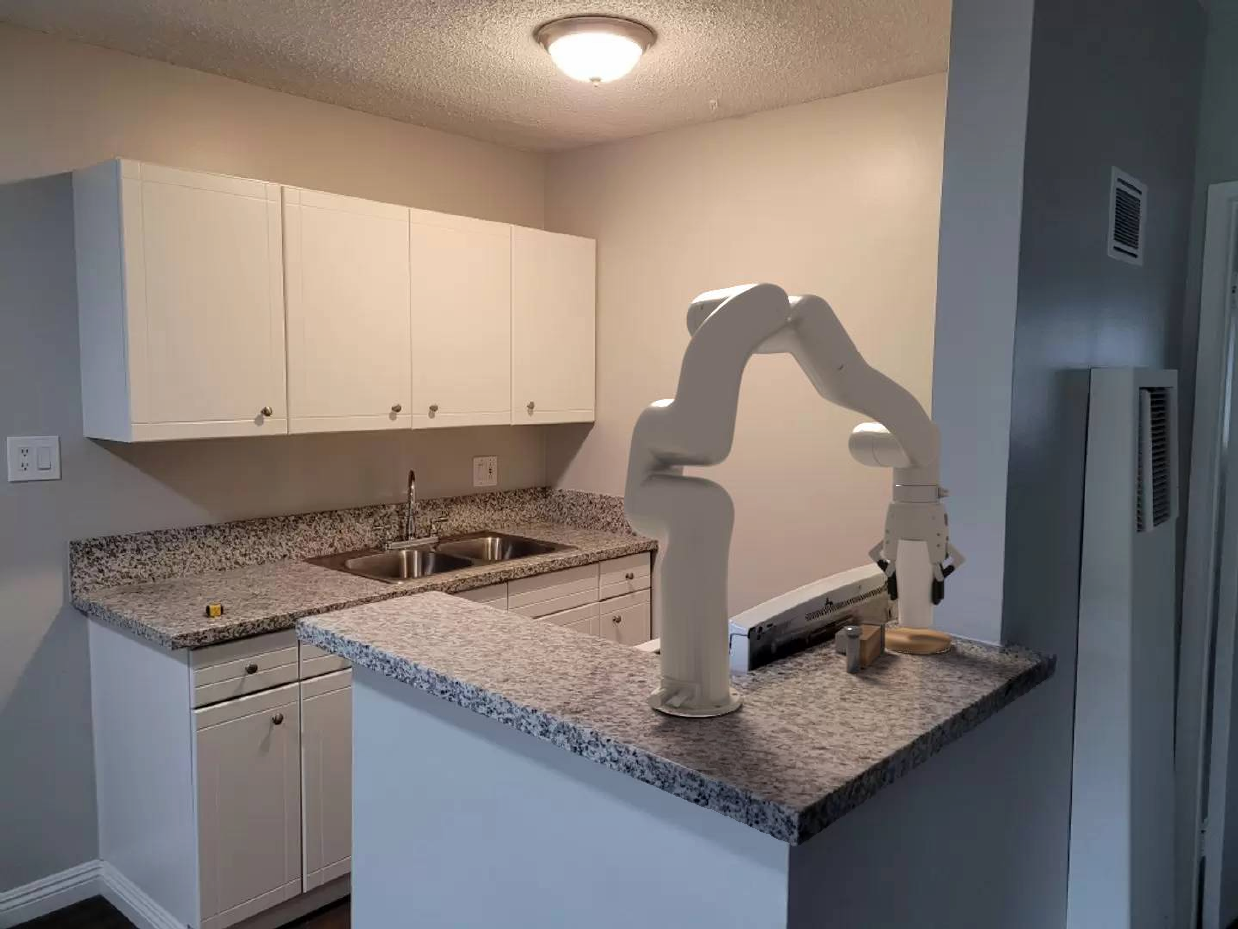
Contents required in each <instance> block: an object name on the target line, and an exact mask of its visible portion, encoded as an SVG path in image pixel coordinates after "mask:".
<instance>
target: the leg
mask: <svg viewBox="0 0 1238 929" xmlns="http://www.w3.org/2000/svg"><path fill="white" fill-rule="evenodd" d="M859 627H862V628H863V634H862V635H860V668H864V669H867V668H868V667H869V666H870V665H871V664H872V663H873V662H874V660H876V659H877V658H878V656H879V655H881V653H884V652H885V651H886V647H885V631H886V622H885V621H876V620H868V619H867V620H866V619H864V620H863V621H862V622H861V623H860V626H859Z"/></svg>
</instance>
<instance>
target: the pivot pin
mask: <svg viewBox="0 0 1238 929" xmlns="http://www.w3.org/2000/svg"><path fill="white" fill-rule="evenodd" d="M843 629H844V634H846V653H845V654H846V660H845V661H846V673H848V674H860V673H861V667H860V635H862V634H863V628H862V627H860V626H859V625H846V626H844V627H843Z"/></svg>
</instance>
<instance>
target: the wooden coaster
mask: <svg viewBox="0 0 1238 929" xmlns="http://www.w3.org/2000/svg"><path fill="white" fill-rule="evenodd" d="M950 647H951V648H952V638H951V636H950V635H948V634H947V633H944V632H942V631H940V630H936V629H930V628H927V629H908V628H905V627H900V628H899V627H898V628H891V629H887V630H885V649H886V648H887V649H889V650H891V651H894V650H896V651H895V652H898V651H901V652H900V653H903V652H906V653H905V654H909V653H916V654H915V655H928V654H927V653H937V652H942V651H945V650H948V649H950ZM950 650H951V649H950ZM907 652H908V653H907ZM917 653H918V654H917ZM921 653H922V654H921ZM924 653H926V654H924Z"/></svg>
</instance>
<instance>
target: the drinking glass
mask: <svg viewBox="0 0 1238 929" xmlns="http://www.w3.org/2000/svg"><path fill="white" fill-rule="evenodd" d="M895 571H896V582H897V595H898V598H897V607H898V624H899V625H900V626H901V628H908V629H930V628H931V627H932V625H933V613H934V612H933V609H934V604H933V581H935V575H934V572H933V564H931V563H930V561H929V553H928V547H927V542H926V541H909V540H901V539H899V542H898V549H897V559H896V561H895Z"/></svg>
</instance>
